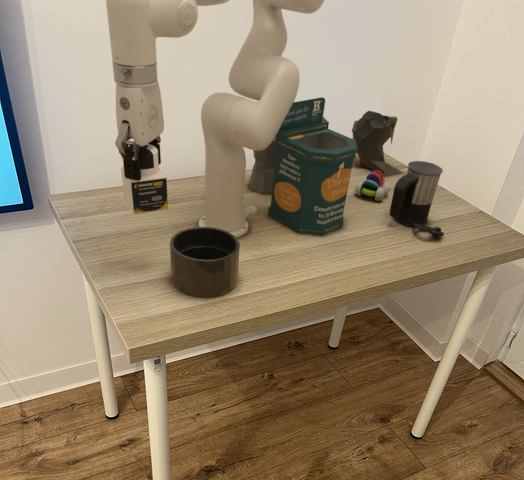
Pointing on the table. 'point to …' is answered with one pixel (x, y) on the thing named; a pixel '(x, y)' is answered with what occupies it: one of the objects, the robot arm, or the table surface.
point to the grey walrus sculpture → (374, 141)
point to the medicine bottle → (146, 184)
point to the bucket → (204, 261)
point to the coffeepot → (263, 169)
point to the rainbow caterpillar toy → (373, 186)
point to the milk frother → (416, 196)
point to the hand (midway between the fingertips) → (143, 170)
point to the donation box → (310, 171)
